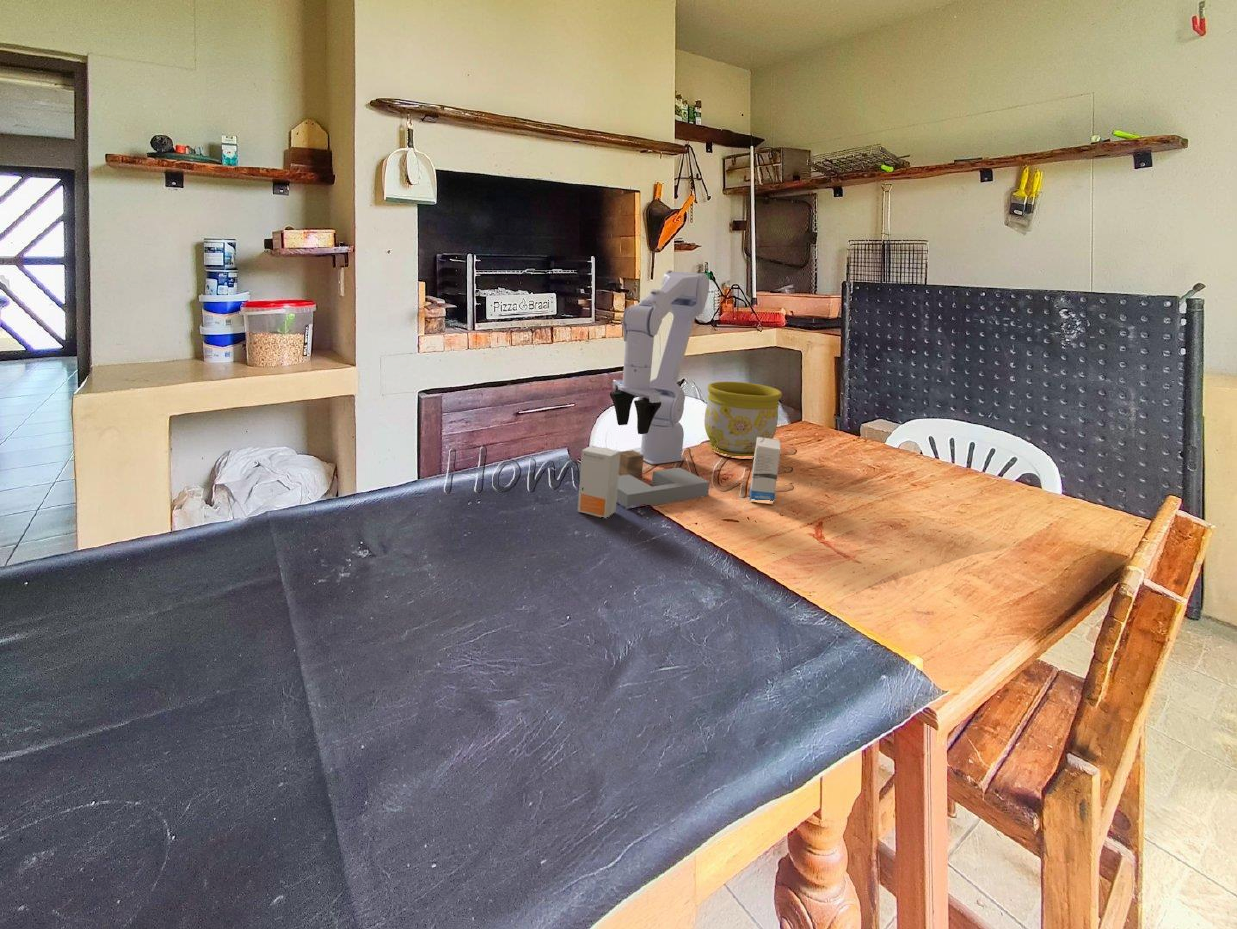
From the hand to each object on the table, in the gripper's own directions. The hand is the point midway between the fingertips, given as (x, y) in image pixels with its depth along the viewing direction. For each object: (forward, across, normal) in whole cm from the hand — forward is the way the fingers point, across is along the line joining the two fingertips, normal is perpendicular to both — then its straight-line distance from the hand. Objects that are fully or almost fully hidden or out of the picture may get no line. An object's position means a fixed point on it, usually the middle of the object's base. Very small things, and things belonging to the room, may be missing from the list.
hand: (632, 429), depth 145 cm
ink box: (+11, +22, +18) cm, 30 cm away
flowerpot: (+10, -5, +36) cm, 38 cm away
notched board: (+10, +12, -2) cm, 16 cm away
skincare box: (+11, +16, -18) cm, 26 cm away
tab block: (+10, 0, 0) cm, 11 cm away
